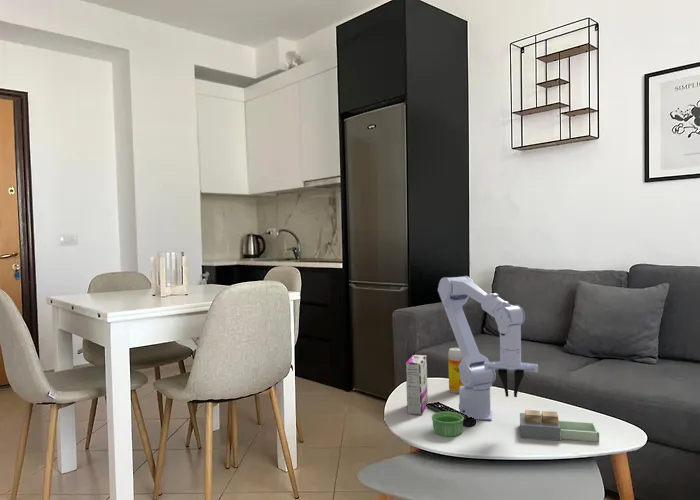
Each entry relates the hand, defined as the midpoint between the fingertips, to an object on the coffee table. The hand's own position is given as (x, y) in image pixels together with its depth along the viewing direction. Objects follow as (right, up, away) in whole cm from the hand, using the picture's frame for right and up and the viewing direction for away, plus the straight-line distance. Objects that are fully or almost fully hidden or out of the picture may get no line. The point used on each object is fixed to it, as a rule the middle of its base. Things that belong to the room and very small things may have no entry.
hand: (511, 395), depth 150 cm
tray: (+17, -10, -4) cm, 20 cm away
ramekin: (-18, -11, +1) cm, 21 cm away
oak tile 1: (+6, -6, -1) cm, 9 cm away
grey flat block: (+7, -10, -2) cm, 12 cm away
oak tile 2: (+10, -6, -3) cm, 12 cm away
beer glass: (-7, -9, +38) cm, 40 cm away
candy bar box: (-24, -10, +20) cm, 33 cm away
